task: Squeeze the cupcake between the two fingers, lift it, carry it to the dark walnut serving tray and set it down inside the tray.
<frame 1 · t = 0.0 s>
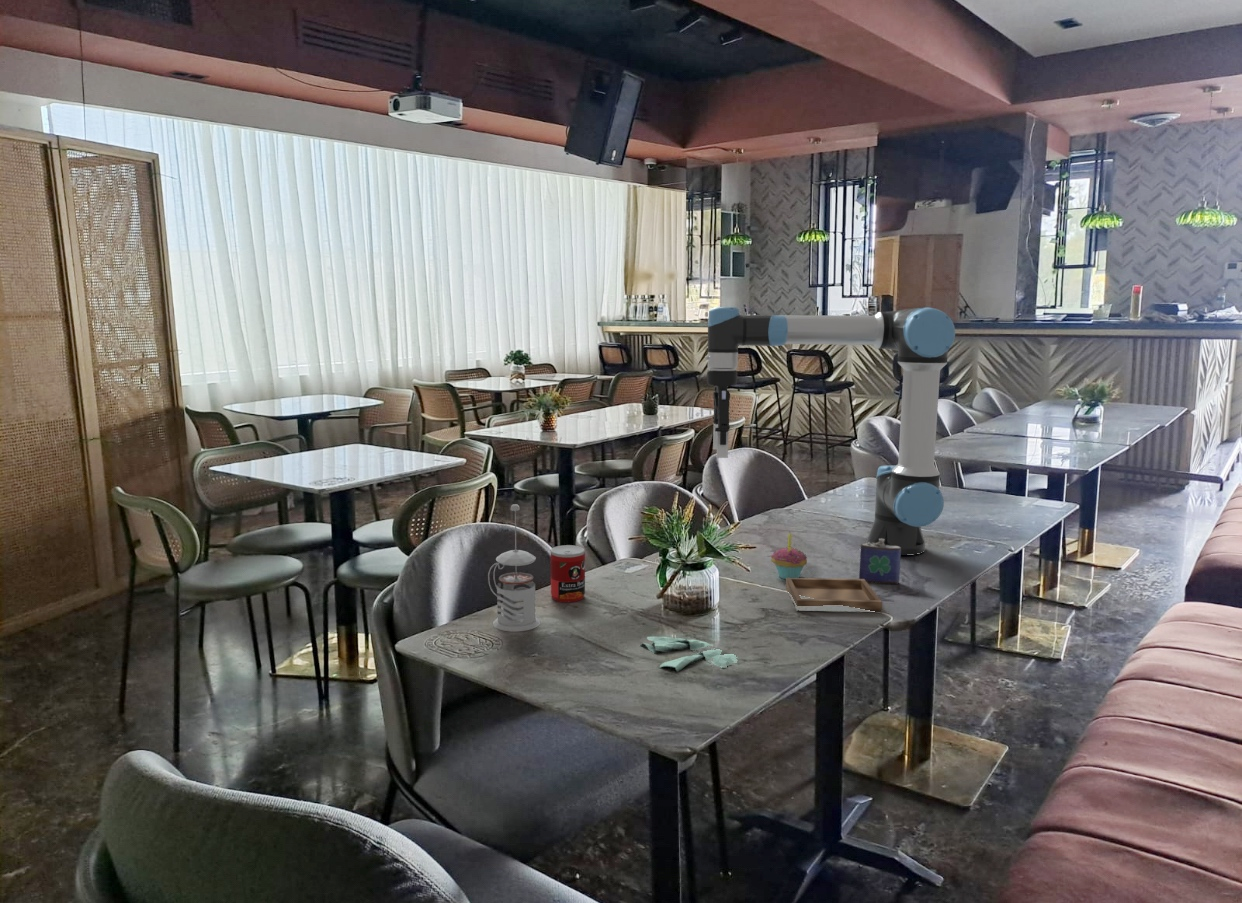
hand: (720, 453, 221), 28 cm above the table, tool pointing down, fingers open, 13 cm apart
cupcake: (788, 577, 211), on the table
cloth: (678, 659, 163), on the table
flask: (878, 582, 208), on the table
canned food: (567, 597, 195), on the table
tray: (831, 600, 194), on the table
french press: (513, 623, 179), on the table
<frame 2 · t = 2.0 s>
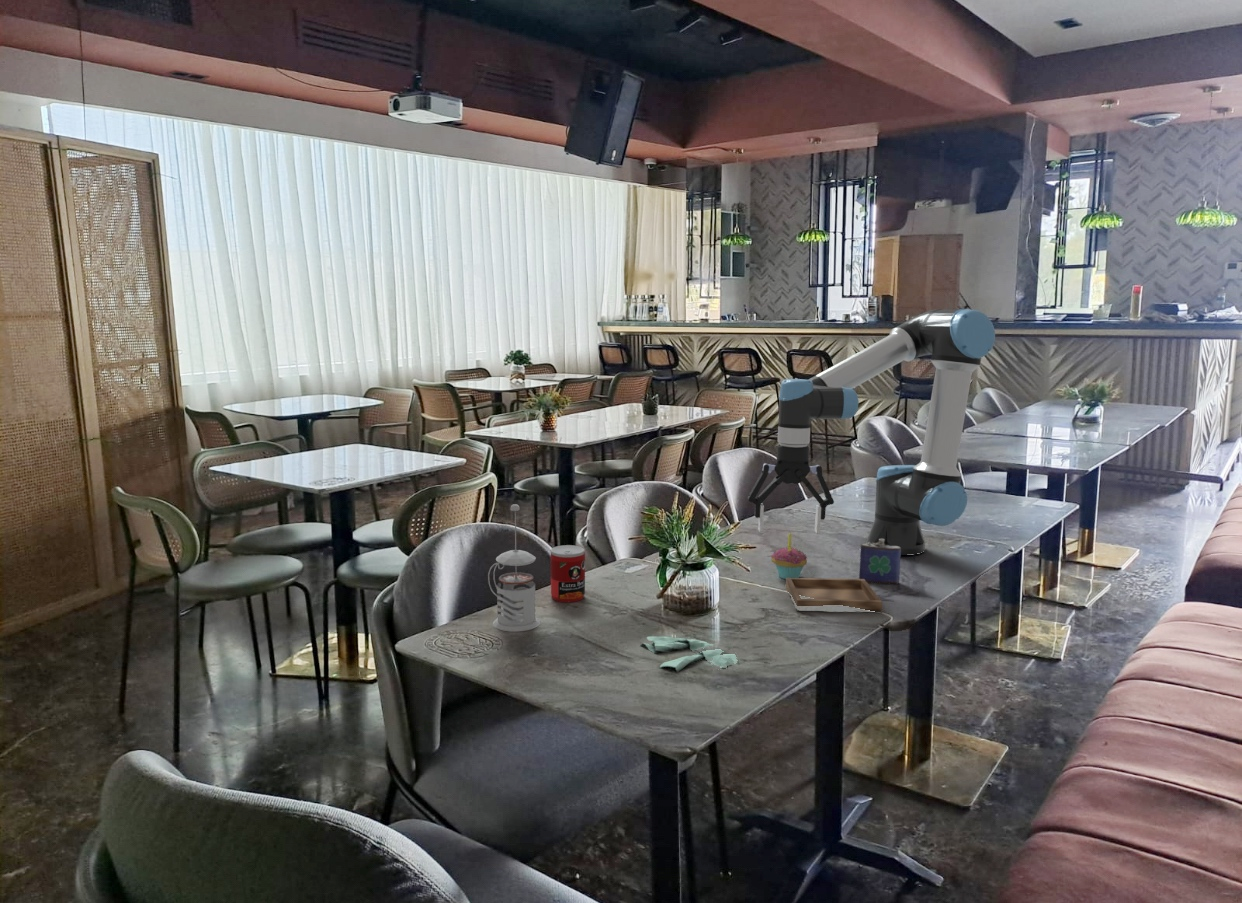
hand: (788, 531, 209), 11 cm above the table, tool pointing down, fingers open, 13 cm apart
nothing on the table moved.
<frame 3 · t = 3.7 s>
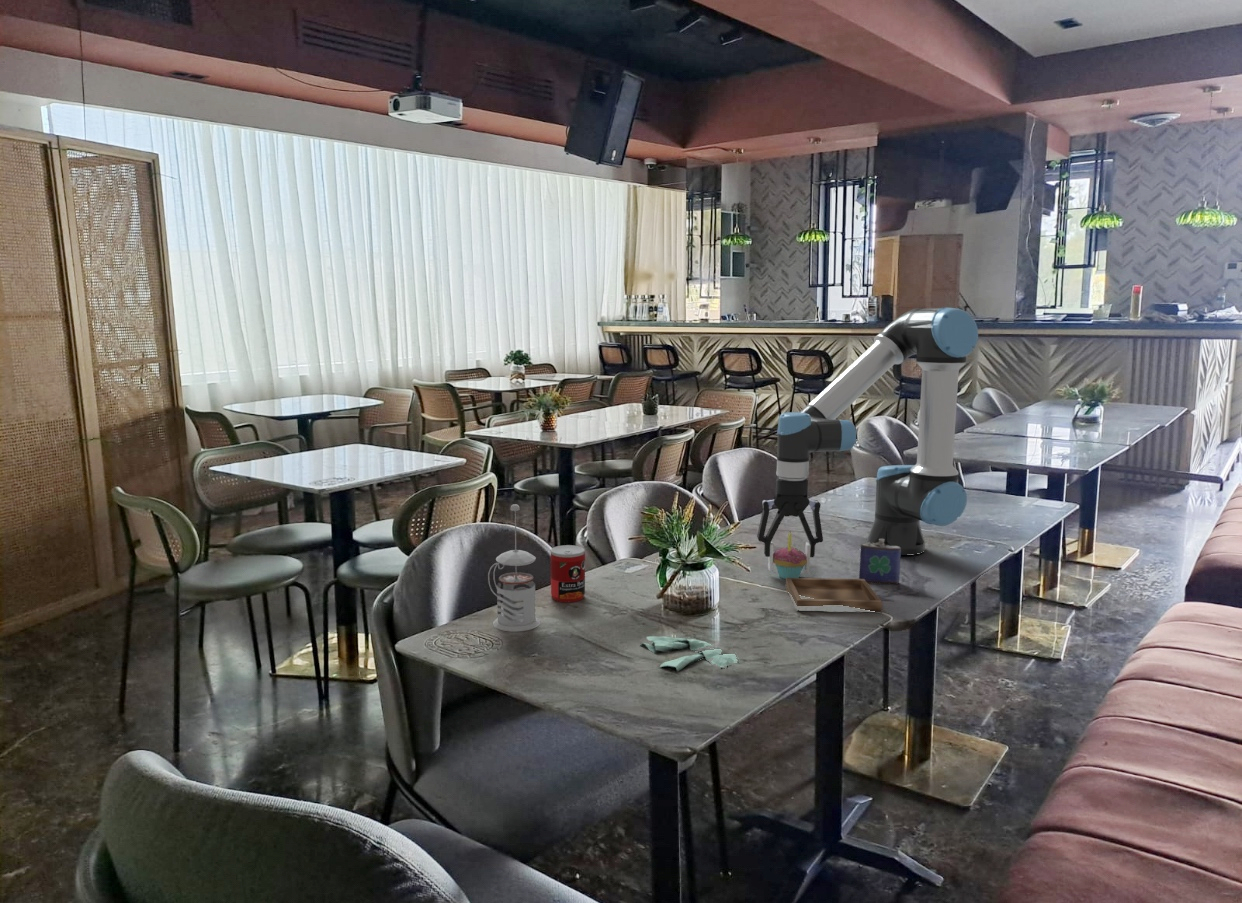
hand: (788, 569, 211), 2 cm above the table, tool pointing down, fingers closed on cupcake, 8 cm apart
cupcake: (788, 577, 211), on the table, touching gripper
everything else where it was.
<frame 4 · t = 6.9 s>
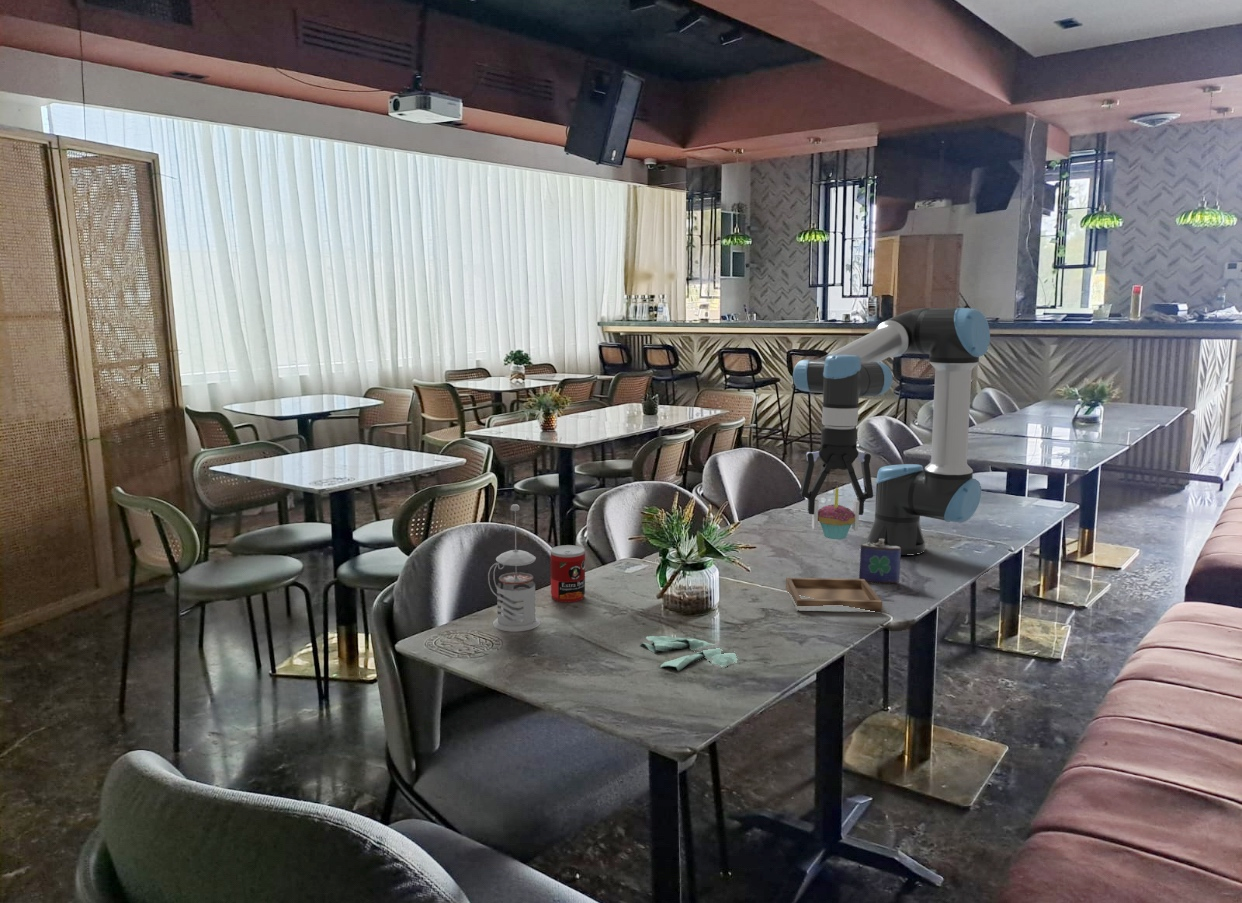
hand: (834, 528, 192), 16 cm above the table, tool pointing down, fingers closed on cupcake, 8 cm apart
cupcake: (834, 537, 192), point 14 cm above the table, touching gripper
everything else where it was.
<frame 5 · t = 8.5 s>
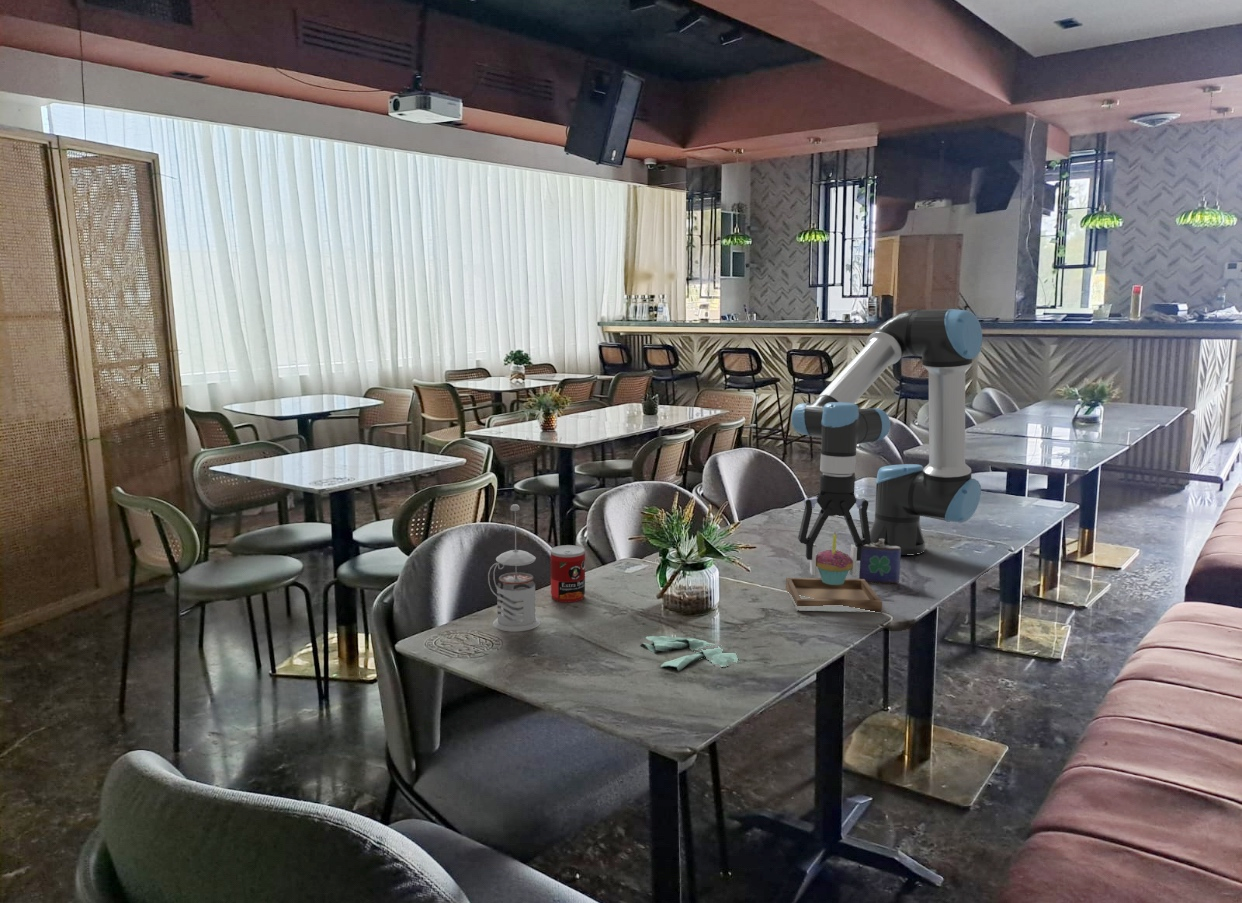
hand: (832, 574, 193), 6 cm above the table, tool pointing down, fingers closed on cupcake, 8 cm apart
cupcake: (832, 582, 193), point 4 cm above the table, touching gripper
everything else where it was.
when the fingers open (4 cm above the table, at t = 9.9 s): cupcake drops 1 cm, resting on tray.
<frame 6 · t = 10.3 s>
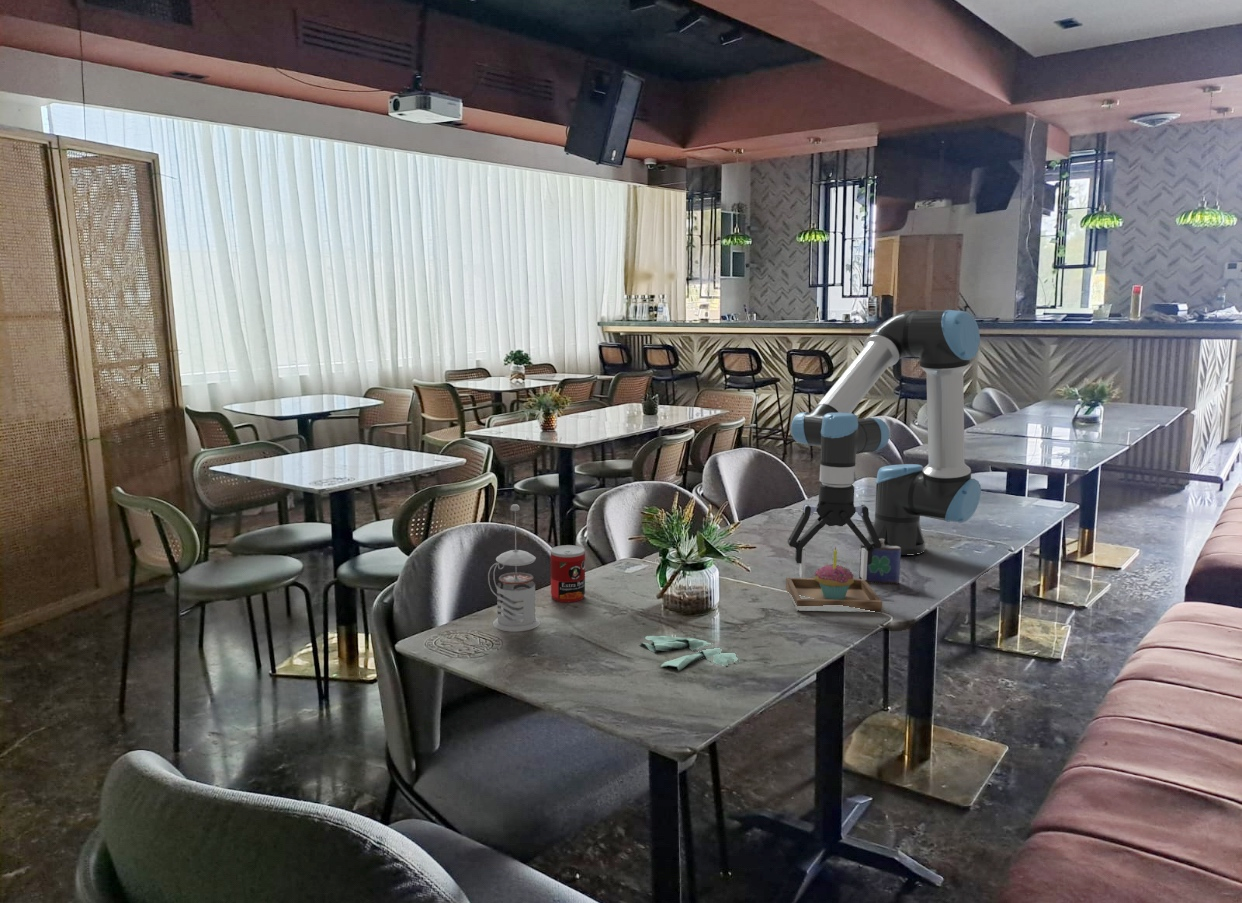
hand: (832, 577, 193), 5 cm above the table, tool pointing down, fingers open, 13 cm apart
cupcake: (833, 597, 194), point 1 cm above the table, touching tray
everything else where it was.
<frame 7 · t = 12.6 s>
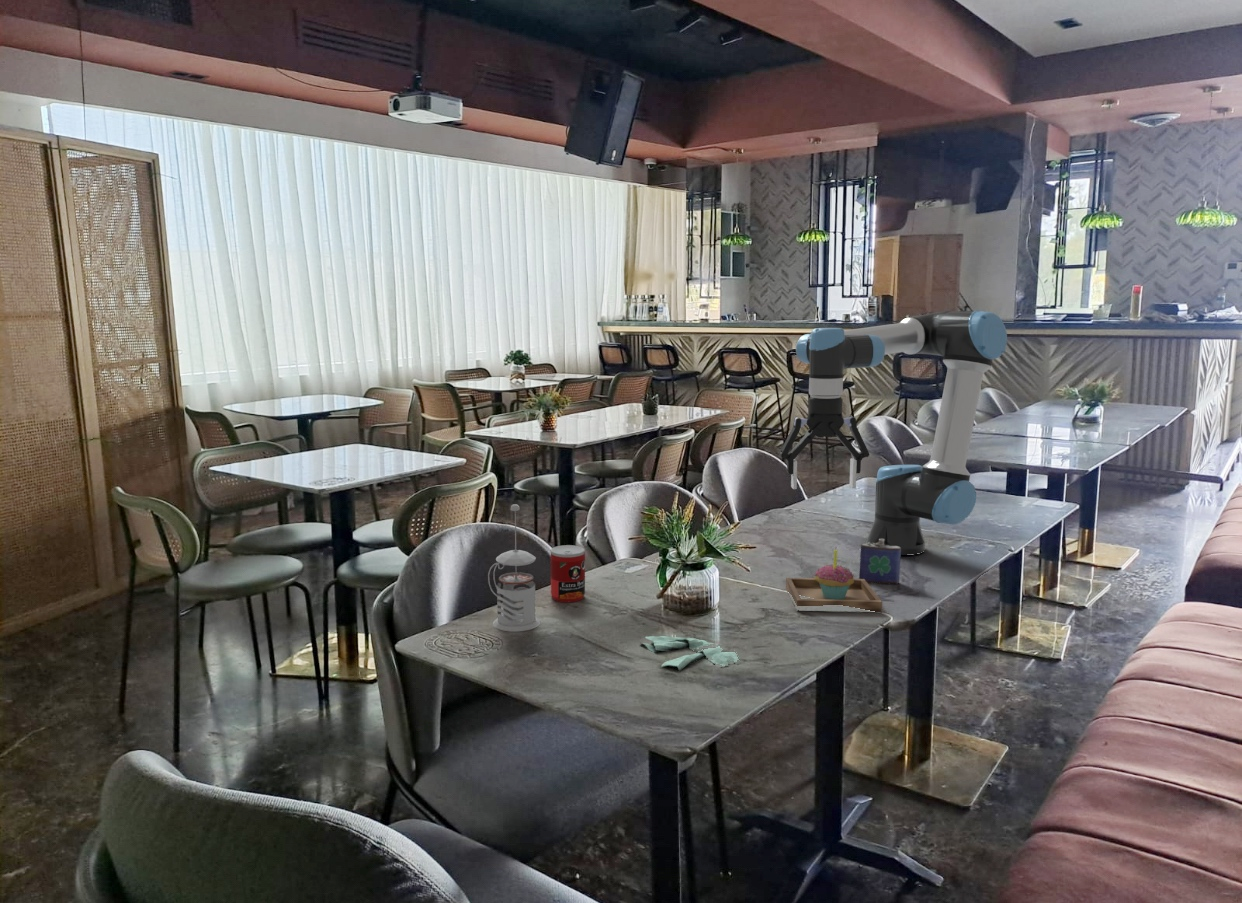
hand: (823, 487, 201), 23 cm above the table, tool pointing down, fingers open, 13 cm apart
nothing on the table moved.
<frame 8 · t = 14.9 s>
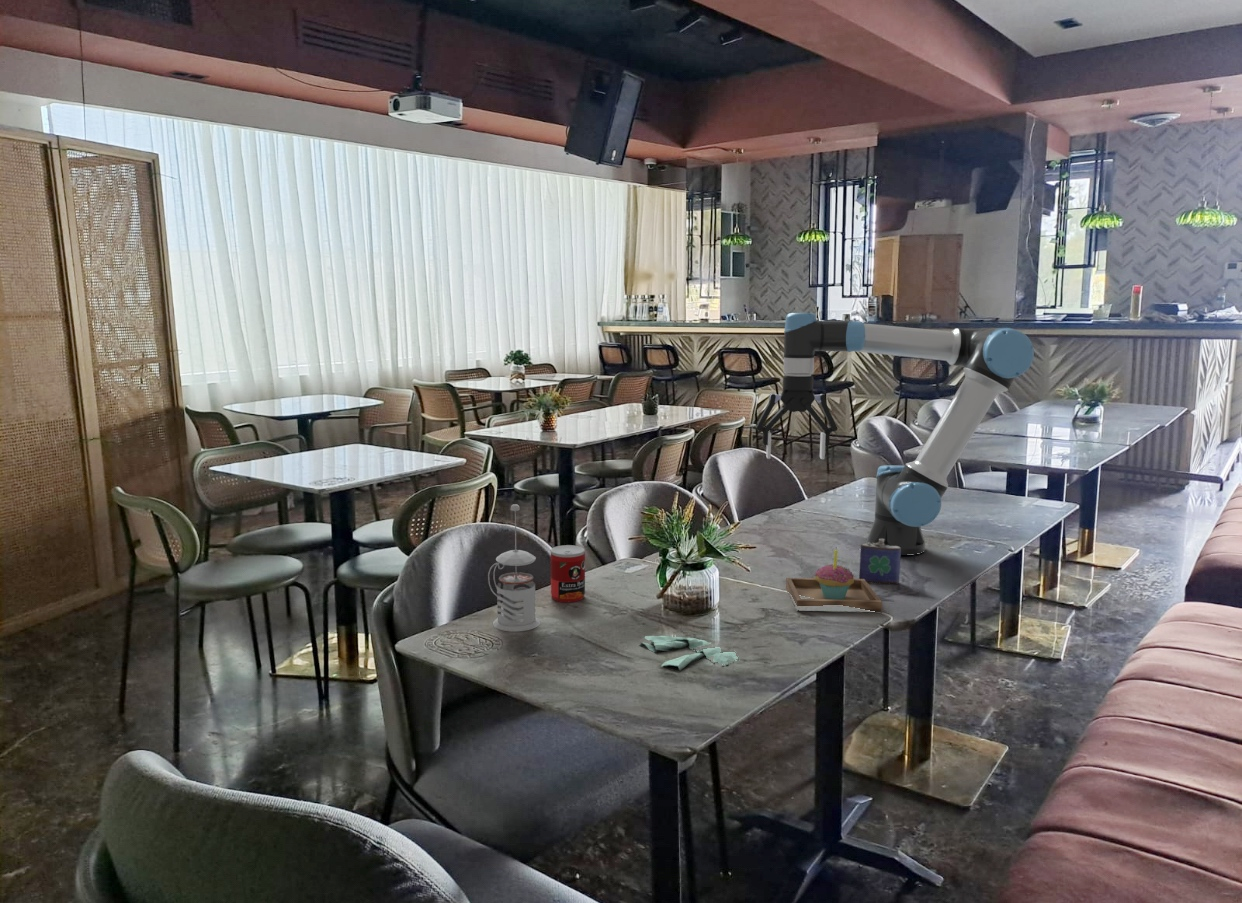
hand: (795, 458, 222), 27 cm above the table, tool pointing down, fingers open, 13 cm apart
nothing on the table moved.
at the end: cupcake inside the target area on the tray (0.4 cm from its centre), point 0.6 cm above the tray's base; cupcake tilted 0°; the gripper is holding nothing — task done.
